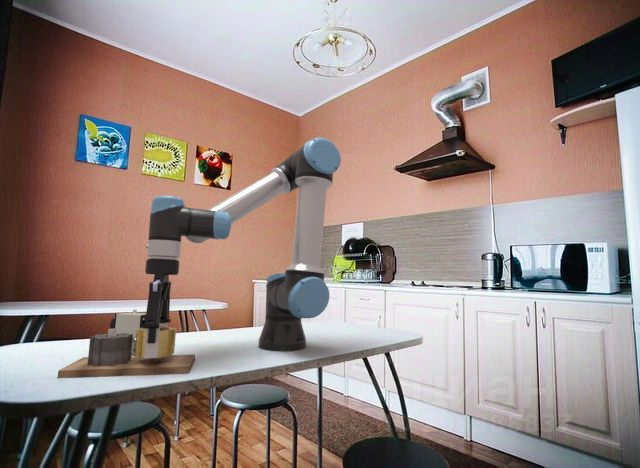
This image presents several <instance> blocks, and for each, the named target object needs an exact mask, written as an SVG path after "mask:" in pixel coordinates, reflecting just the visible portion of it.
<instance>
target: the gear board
mask: <svg viewBox="0 0 640 468" xmlns="http://www.w3.org/2000/svg"><path fill="white" fill-rule="evenodd" d="M161 329H162V328H160V330H161ZM132 340H133V334H127V333H117V329H110V328H108V330H107V333H103V334H94V336H90V337H89V344H88V354H87V355H88V356H84V357H82V358H80V359H77V360H76V361H74V362H72V363H70V364H68V365H66V366H65V367H62V368H60V369H59V370H58V372H57V379H64V378H65V379H70V378H93V377H94V378H95V377H120V376H121V377H124V376H151V375H153V376H154V375H179V374H183V375H184V374H190V372H191V370H192V368H193V366H194V364H195V363H196V362H195V361H196V353H195V354H193V353H192V354H173V355H172V356H165V357H161V358H145V359H144V358H141V357H135V356H134V355H131V352H132Z"/></svg>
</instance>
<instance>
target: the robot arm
mask: <svg viewBox="0 0 640 468" xmlns="http://www.w3.org/2000/svg"><path fill="white" fill-rule="evenodd" d="M335 145H336V144H334V143H333V142H332V141H331V140H329V139H327V138H324V137H315V138H313V139H310V140H308V141H306V142H305V143H304V144H303V146H300V148H298V149H297V150H295V151H293V153H291V154H290V155H289V156H288V157H286V159H285V160H284V161H282V162H281V163H279V164H278V165H276V166H274V167H273V168H272V169H271V172H270V173H269V174H267V175H265V176H264V177H262V178H260V179H258V180H257V181H255V182H253V183H251V184H250V185H248V186H246V187H244V188H243V189H241V190H239V191H238V192H236V193H234V194H232V195H231V196H229V197H227V198H225V199H224V200H222V201H220V202H218V203H216V204H215V205H213V206H211V207H209V208H208V209H205V208H204V209H202V208H201V209H200V208H193V207H189V206H185V200H184V199H183V198H181V197H177V196H173V195H157V196H155V197H154V198H153V199H152V201H151V202H152V203H151V207H150V208H151V210H150V215H149V226H148V227H149V228H148V240H147V242H148V244H145V246H144V247H145V249H147V251H146V256H147V257H149V258H147V259H146V260H145V271H144V273H145V274H146V275H154V276H153V281H150V282H149V285H148V288H149V289H148V299H147V306H146V312H145V313H146V319H145V324H144V325H143V329H147V330H146V341H145V352H144V358H157V357H158V347H159V335H160V328H159V327H168V324H170V323H171V320H172V319H171V318H170V308H171V307H170V305H171V287H172V281H170V279H169V278H170V277H169V276H177V275H179V271H180V261H179V259H180V258H181V251H182V249H181V248H182V237H185V238H186V240H188V241H189V242H190V243H194V244H202V243H204V242H206V241H208V240H210V239H212V240H226V239H228V238H229V235H230V233H231V229H232V225H233V224H234V223H236V222H237V221H240V220H241V219H242V218H244V217H246V216H248V215H249V214H251V213H252V212H254V211H256V210H257V209H259V208H260V207H262V206H264V205H266V204H268V203H269V202H270V201H272V200H273V199H276V198H277V197H278V196H280V195H282V194H286V195H287V194H289V193H290V192H293V191H294V190H297V189H298V197H297V207H296V215H295V216H296V217H295V224H294V225H295V226H294V237H293V246H292V256H291V264H290V265H289V266H288V267H287V268H286V269H285V272H280V273H273V274H270V275H268V277H267V280H266V285H265V288H266V289H265V291H266V293H265V321H264V325H263V328H262V330H261V333H260V335H259V338H258V347H259V348H260V349H263V350H266V351H267V350H268V351H280V352H281V351H298V350H302V349H303V350H304V349H305V348H306V347H307V338H306V334H305V331H304V328H303V324H302V319H305V320H306V319H314V318H316V317H318V316H320V315H321V314H322V313H324V311H326V308H327V307H328V304H329V301H330V289H329V286H327V283H326V282H325V272H324V271H323V269H322V268H321V258H322V250H323V249H322V248H323V247H322V246H323V235H324V227H325V226H324V225H325V224H324V223H325V214H326V213H325V212H326V203H327V201H326V200H327V191H328V190H329V189H331V187H333V179H334V173H336V172H337V171H338V169H339V167H341V161H342V159H341V157H342V156H341V153H340V151H339V149H338V148H337V147H336V146H335Z"/></svg>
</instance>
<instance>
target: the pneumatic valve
mask: <svg viewBox="0 0 640 468" xmlns="http://www.w3.org/2000/svg"><path fill="white" fill-rule="evenodd" d="M145 319H146V312H138V311H137V309H133V310H132V312H119V313H118V312H117V313H115V314H114V317H112V319H110V321H109V322H110V323H109V329H117V333H127V334H133V340H132V352H131V356H134V355H135V344H136V334H137V330H139V328H143V325H144V324H145Z"/></svg>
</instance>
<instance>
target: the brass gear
mask: <svg viewBox="0 0 640 468" xmlns="http://www.w3.org/2000/svg"><path fill="white" fill-rule="evenodd" d="M159 328H162V329H161V330H160V335H159V347H158V357H157V358H161V357H165V356H172V355H174V354H175V347H176V336H177V327H170V326H167V327H159ZM146 330H147V329H143V328H139V330H137V334H136V338H135V340H136V344H135V353H134V354H133V356H135V357H141V358H144V352H145V341H146ZM144 359H145V358H144Z"/></svg>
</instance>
